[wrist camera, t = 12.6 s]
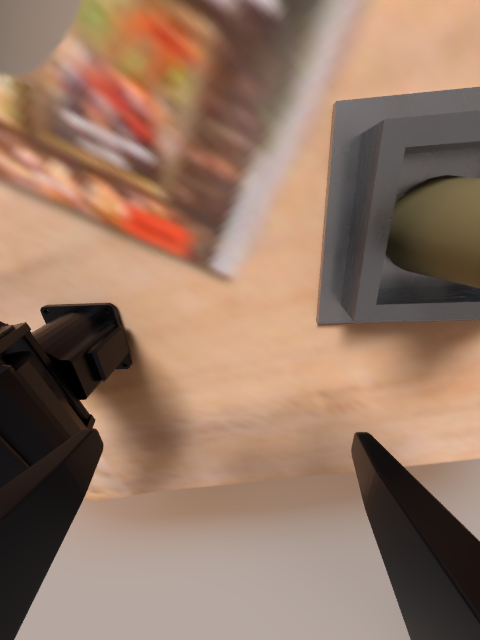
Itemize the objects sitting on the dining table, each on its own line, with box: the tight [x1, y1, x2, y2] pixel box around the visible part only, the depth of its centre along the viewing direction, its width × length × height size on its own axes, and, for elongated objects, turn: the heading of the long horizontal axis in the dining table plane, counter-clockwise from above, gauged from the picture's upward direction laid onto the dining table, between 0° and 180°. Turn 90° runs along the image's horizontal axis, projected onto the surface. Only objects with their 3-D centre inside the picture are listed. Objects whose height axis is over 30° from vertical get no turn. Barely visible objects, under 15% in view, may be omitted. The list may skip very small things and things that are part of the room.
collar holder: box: [316, 87, 480, 324], centre depth 15 cm, size 14×14×4 cm
